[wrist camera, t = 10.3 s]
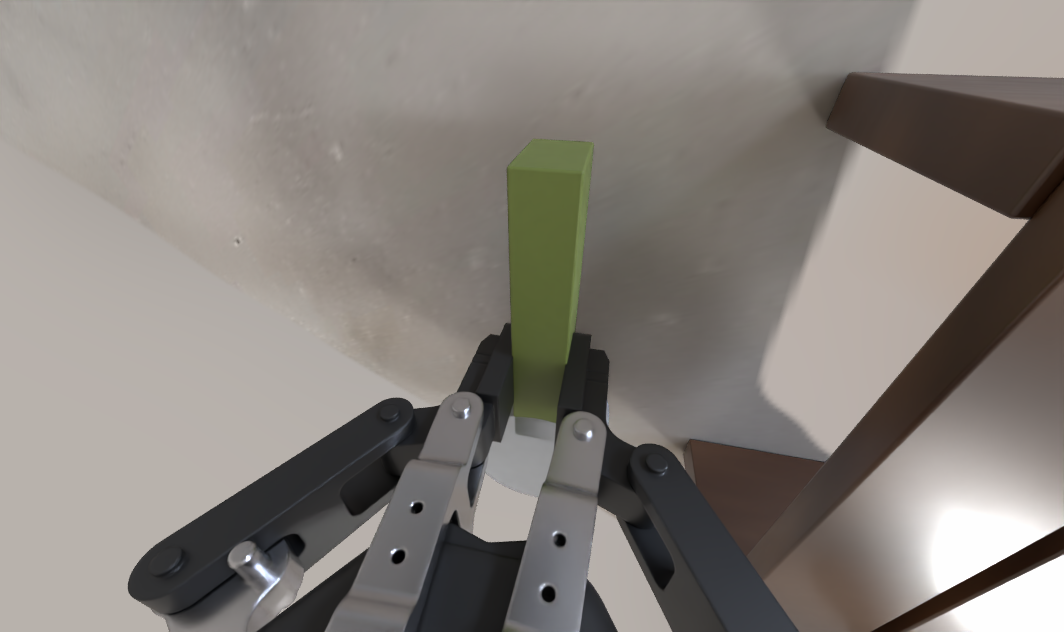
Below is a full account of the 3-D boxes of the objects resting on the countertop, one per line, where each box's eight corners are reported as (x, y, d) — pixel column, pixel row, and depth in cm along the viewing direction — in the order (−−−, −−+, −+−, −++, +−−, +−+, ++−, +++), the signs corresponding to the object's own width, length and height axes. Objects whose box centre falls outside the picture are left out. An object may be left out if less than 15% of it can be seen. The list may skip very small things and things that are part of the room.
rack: (847, 72, 10) (1178, 133, 4) (1267, 83, 9) (2728, 203, 3) (682, 453, 21) (705, 630, 15) (862, 485, 20) (970, 696, 14)
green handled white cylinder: (470, 134, 11) (427, 160, 9) (663, 145, 10) (673, 178, 8) (493, 431, 20) (475, 484, 18) (601, 451, 19) (597, 510, 17)
